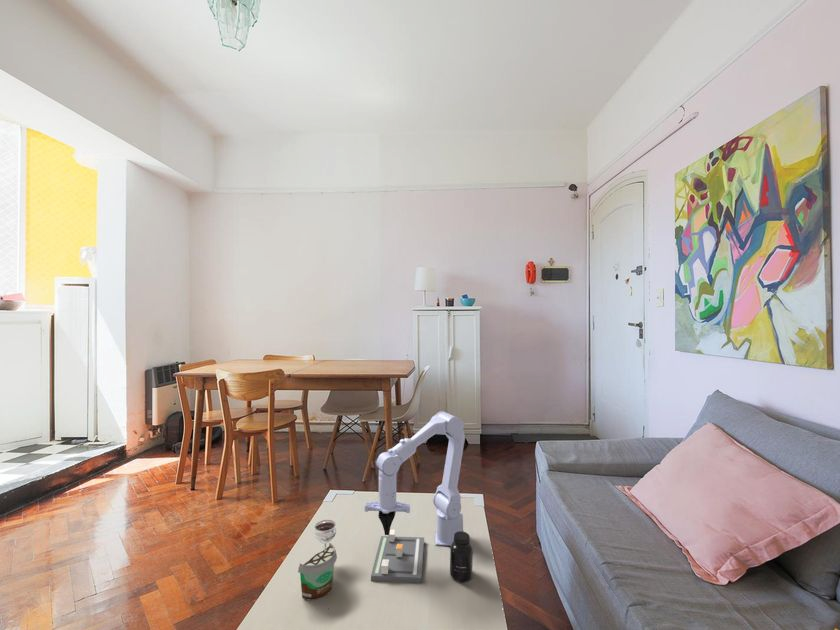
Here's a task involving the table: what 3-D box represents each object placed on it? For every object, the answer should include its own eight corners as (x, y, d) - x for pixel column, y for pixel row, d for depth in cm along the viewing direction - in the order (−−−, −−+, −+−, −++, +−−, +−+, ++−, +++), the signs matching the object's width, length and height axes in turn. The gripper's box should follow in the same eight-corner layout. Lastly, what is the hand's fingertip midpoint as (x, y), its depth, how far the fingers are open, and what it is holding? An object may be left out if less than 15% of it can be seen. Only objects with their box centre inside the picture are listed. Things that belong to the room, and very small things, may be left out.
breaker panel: (424, 541, 130) (424, 537, 130) (421, 582, 110) (421, 577, 110) (381, 540, 131) (381, 535, 131) (370, 580, 111) (370, 575, 111)
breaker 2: (395, 536, 130) (395, 529, 130) (394, 541, 127) (394, 534, 127) (389, 536, 130) (389, 529, 130) (388, 541, 127) (388, 534, 127)
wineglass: (309, 567, 116) (309, 528, 116) (322, 554, 123) (322, 517, 123) (327, 572, 114) (328, 533, 114) (340, 559, 120) (340, 521, 120)
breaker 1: (389, 567, 114) (389, 559, 114) (387, 574, 111) (387, 566, 111) (382, 567, 114) (382, 559, 114) (381, 573, 111) (381, 565, 111)
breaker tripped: (403, 551, 122) (403, 543, 122) (402, 557, 119) (402, 549, 119) (397, 551, 122) (397, 543, 122) (395, 557, 119) (396, 549, 119)
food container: (313, 610, 99) (313, 572, 99) (297, 600, 103) (298, 564, 103) (345, 582, 110) (345, 548, 110) (330, 574, 113) (330, 541, 113)
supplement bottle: (458, 586, 109) (458, 544, 109) (445, 571, 115) (445, 532, 115) (477, 578, 112) (477, 538, 112) (464, 564, 118) (464, 526, 118)
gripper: (362, 496, 117) (362, 539, 117) (408, 497, 116) (408, 541, 116) (367, 486, 124) (366, 527, 124) (410, 487, 123) (410, 528, 123)
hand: (387, 533), depth 120 cm, fingers closed
